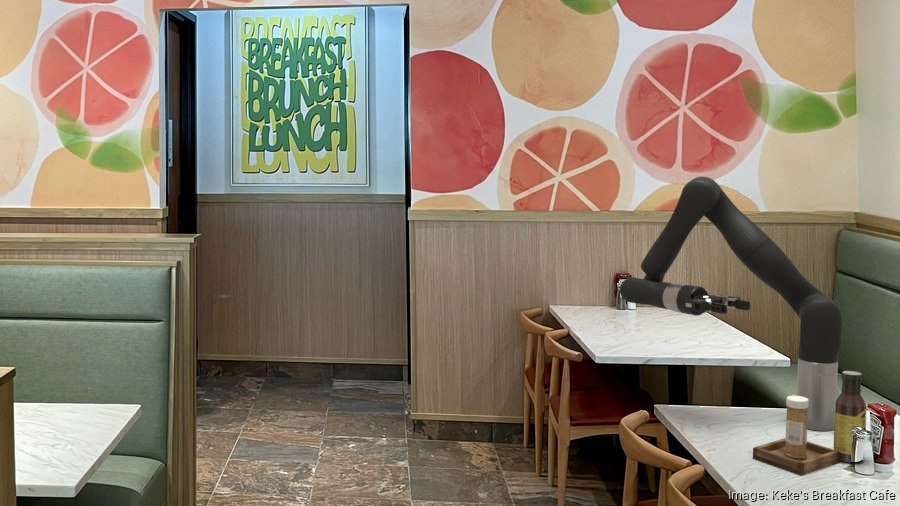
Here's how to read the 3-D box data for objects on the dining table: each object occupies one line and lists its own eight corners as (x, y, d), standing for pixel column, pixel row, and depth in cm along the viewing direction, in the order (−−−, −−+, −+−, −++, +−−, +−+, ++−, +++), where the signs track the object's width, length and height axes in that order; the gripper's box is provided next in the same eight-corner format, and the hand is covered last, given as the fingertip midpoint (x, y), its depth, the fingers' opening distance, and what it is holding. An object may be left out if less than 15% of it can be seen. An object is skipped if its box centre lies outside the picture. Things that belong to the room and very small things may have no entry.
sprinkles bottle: (810, 457, 173) (813, 398, 171) (798, 461, 170) (801, 401, 169) (792, 451, 176) (794, 393, 175) (780, 455, 174) (782, 397, 172)
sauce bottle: (866, 465, 170) (871, 377, 168) (835, 462, 172) (839, 375, 170) (860, 455, 176) (864, 370, 174) (830, 453, 178) (834, 368, 176)
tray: (790, 446, 182) (791, 436, 182) (839, 462, 172) (839, 451, 172) (752, 458, 175) (753, 447, 174) (801, 475, 165) (801, 464, 164)
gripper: (666, 286, 196) (718, 295, 182) (704, 282, 204) (757, 290, 190) (665, 315, 197) (717, 326, 183) (703, 310, 204) (756, 320, 191)
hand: (737, 307), depth 186 cm, fingers open, 8 cm apart
